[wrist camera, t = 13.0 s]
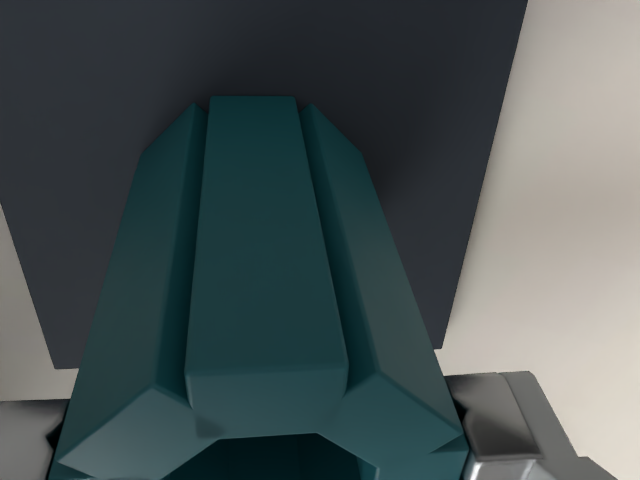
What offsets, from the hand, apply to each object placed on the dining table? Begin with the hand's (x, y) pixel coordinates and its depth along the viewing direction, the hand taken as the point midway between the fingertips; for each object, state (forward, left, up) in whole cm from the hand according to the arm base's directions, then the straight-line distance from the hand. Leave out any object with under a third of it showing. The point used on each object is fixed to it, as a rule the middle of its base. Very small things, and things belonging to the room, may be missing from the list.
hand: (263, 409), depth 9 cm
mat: (0, 0, -7) cm, 7 cm away
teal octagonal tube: (0, 0, -6) cm, 6 cm away
